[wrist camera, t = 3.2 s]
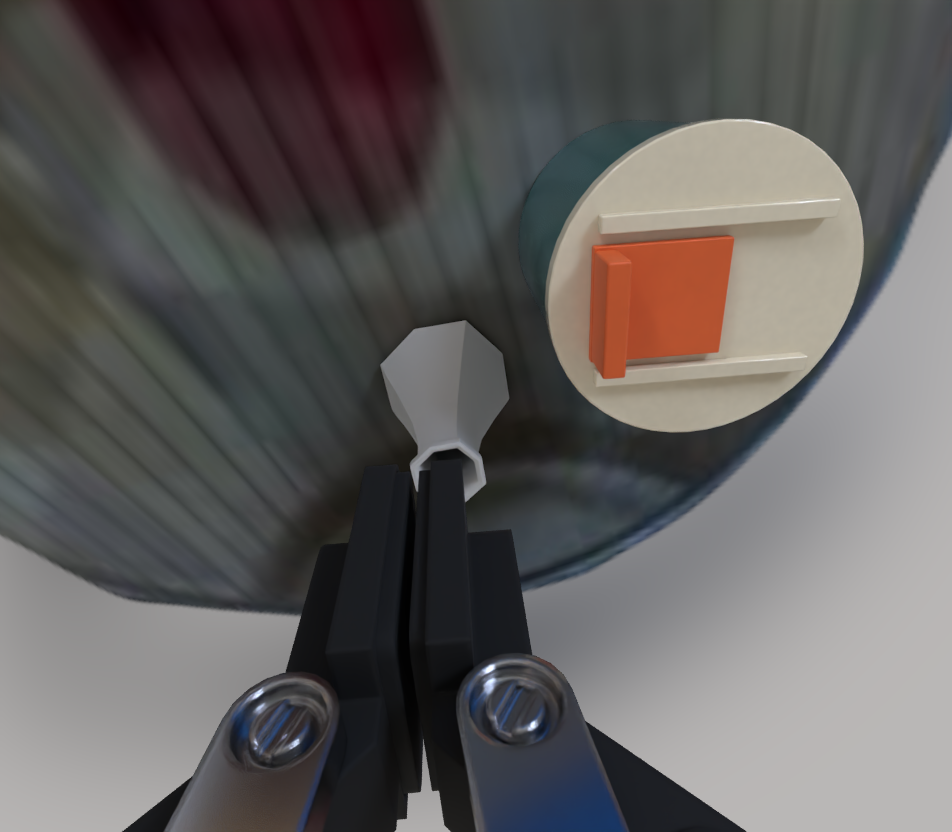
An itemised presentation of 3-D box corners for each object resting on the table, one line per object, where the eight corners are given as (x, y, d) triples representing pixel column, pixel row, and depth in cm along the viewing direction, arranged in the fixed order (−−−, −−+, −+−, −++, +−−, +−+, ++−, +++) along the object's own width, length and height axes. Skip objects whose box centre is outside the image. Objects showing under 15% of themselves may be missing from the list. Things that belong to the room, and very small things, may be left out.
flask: (358, 357, 33) (328, 448, 24) (472, 296, 32) (484, 369, 23) (423, 453, 36) (417, 565, 27) (529, 401, 35) (559, 501, 26)
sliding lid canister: (517, 347, 33) (550, 450, 23) (510, 123, 28) (549, 132, 18) (716, 332, 34) (834, 427, 24) (746, 106, 28) (914, 106, 18)
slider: (588, 359, 22) (602, 383, 20) (591, 245, 20) (607, 259, 18) (714, 348, 22) (741, 372, 20) (730, 234, 20) (760, 248, 18)
